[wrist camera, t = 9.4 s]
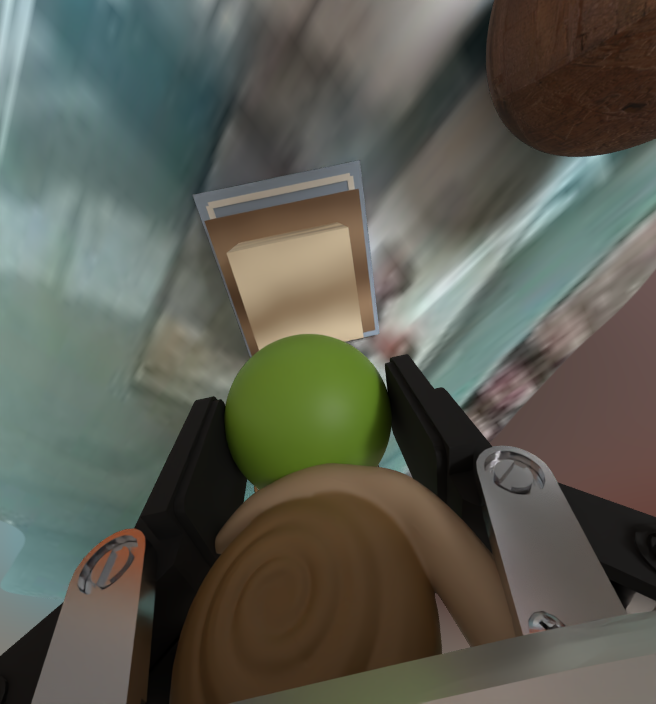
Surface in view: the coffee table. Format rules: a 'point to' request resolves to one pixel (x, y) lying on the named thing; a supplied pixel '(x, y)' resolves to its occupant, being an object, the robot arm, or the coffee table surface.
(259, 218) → the plinth
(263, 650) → the snail figurine
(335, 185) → the blueprint board
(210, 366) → the coffee table surface
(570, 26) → the wooden sphere
